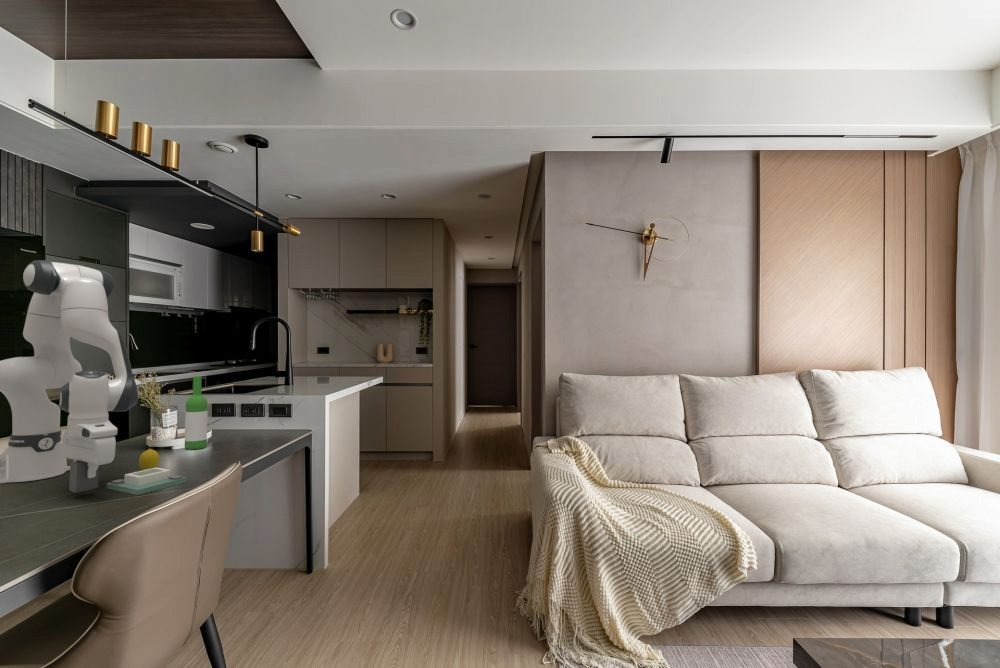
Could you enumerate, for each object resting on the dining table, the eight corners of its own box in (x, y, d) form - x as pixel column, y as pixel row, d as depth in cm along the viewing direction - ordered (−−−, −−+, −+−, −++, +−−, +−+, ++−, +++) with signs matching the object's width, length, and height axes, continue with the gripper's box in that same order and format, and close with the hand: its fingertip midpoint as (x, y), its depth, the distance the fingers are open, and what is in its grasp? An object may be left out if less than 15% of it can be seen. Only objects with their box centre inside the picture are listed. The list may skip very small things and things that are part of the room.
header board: (106, 488, 141) (106, 475, 141) (156, 476, 153) (156, 464, 154) (137, 495, 135) (138, 481, 135) (186, 482, 148) (186, 469, 148)
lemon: (139, 475, 154) (139, 451, 154) (138, 472, 158) (139, 448, 159) (159, 473, 158) (160, 449, 158) (158, 469, 162) (159, 446, 162)
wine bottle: (190, 451, 190) (192, 377, 190) (180, 448, 194) (182, 376, 194) (210, 447, 196) (212, 376, 197) (200, 445, 200) (202, 375, 201)
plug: (69, 490, 132) (70, 455, 132) (93, 485, 137) (95, 451, 137) (75, 492, 130) (77, 456, 130) (100, 487, 136) (102, 452, 136)
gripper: (54, 425, 135) (52, 473, 135) (94, 433, 127) (92, 484, 127) (81, 422, 141) (79, 468, 141) (121, 429, 133) (119, 478, 133)
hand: (85, 476), depth 134 cm, fingers closed on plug, 3 cm apart
